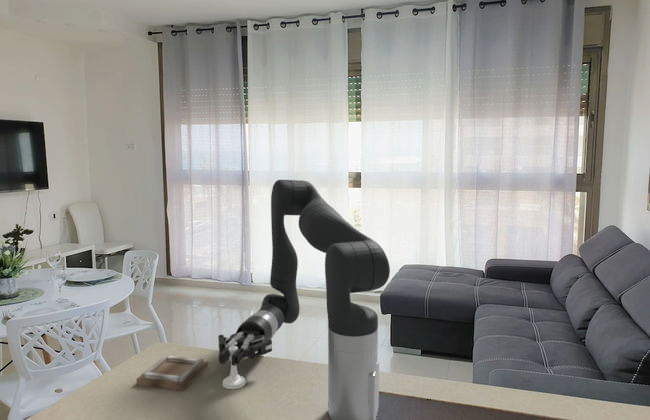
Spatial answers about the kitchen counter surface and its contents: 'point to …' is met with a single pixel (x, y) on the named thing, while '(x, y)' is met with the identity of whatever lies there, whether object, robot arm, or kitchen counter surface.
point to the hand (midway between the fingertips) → (227, 360)
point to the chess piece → (233, 371)
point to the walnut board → (173, 373)
